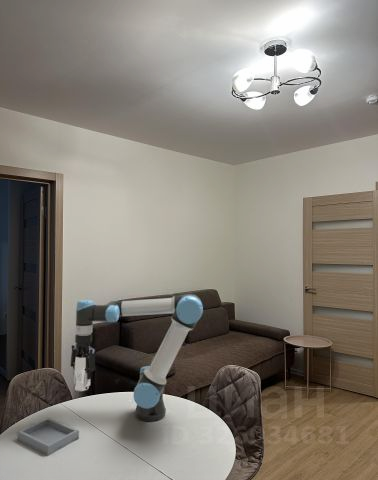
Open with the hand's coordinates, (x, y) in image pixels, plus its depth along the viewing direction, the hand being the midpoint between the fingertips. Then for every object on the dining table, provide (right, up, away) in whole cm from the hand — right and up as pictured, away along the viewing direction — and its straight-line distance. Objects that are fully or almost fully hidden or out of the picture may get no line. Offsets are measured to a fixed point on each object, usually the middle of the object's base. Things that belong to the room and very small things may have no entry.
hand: (81, 384), depth 159 cm
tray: (-10, -17, -14) cm, 24 cm away
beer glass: (0, -2, 0) cm, 2 cm away
